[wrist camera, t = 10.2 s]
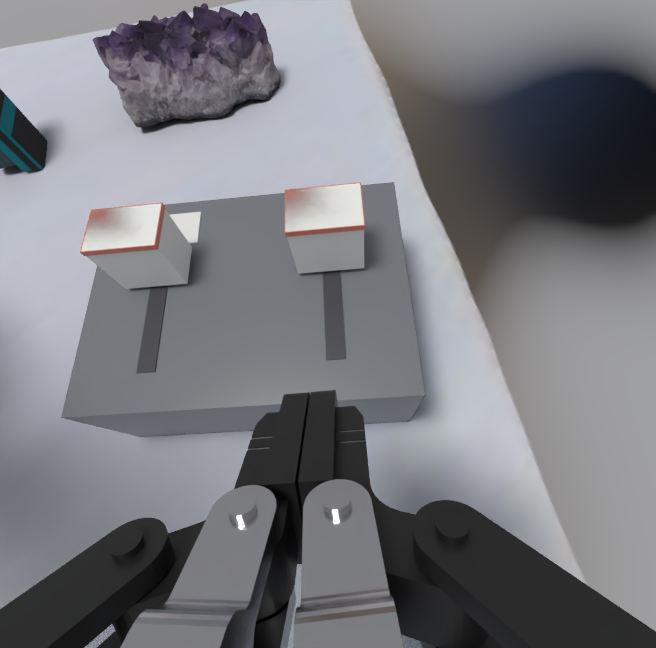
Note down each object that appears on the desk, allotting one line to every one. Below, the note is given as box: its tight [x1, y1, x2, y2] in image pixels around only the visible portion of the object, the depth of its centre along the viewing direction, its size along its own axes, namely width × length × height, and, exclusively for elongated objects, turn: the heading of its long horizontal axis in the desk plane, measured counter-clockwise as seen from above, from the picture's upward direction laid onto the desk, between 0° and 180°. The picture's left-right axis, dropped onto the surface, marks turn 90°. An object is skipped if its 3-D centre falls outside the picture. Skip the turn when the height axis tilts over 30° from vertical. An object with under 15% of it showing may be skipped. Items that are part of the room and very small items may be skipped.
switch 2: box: [284, 182, 365, 274], centre depth 24 cm, size 3×4×4 cm
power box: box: [61, 182, 425, 437], centre depth 30 cm, size 16×22×9 cm
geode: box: [93, 4, 280, 127], centre depth 45 cm, size 20×12×10 cm, turn 99°
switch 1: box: [80, 203, 192, 289], centre depth 25 cm, size 3×4×4 cm
